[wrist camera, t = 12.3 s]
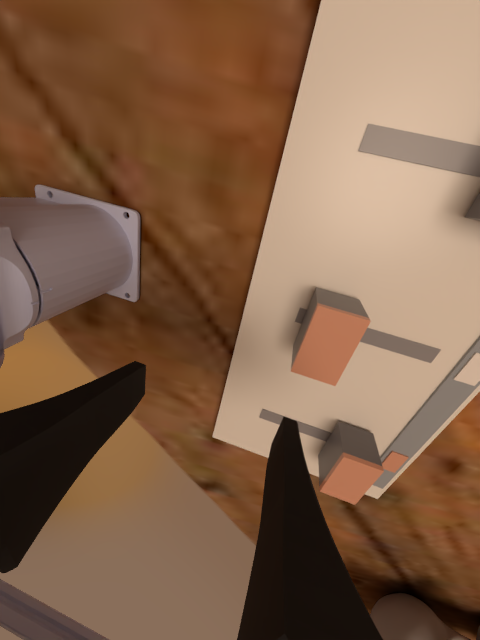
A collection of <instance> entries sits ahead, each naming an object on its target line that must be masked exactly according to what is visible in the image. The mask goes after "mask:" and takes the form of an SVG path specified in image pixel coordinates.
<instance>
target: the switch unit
mask: <svg viewBox="0 0 480 640" xmlns="http://www.w3.org/2000/svg"><path fill="white" fill-rule="evenodd" d="M479 192H480V0H321V4H320V8H319V12H318V16H317V20H316V24H315V28H314V32H313V36H312V40H311V44H310V48H309V52H308V56H307V60H306V64H305V68H304V72H303V76H302V80H301V84H300V88H299V92H298V96H297V100H296V104H295V108H294V112H293V116H292V120H291V124H290V128H289V132H288V136H287V140H286V144H285V148H284V152H283V156H282V160H281V164H280V168H279V172H278V176H277V180H276V184H275V188H274V192H273V196H272V200H271V204H270V208H269V212H268V216H267V220H266V224H265V228H264V232H263V236H262V240H261V244H260V248H259V252H258V256H257V260H256V264H255V268H254V272H253V276H252V280H251V284H250V288H249V292H248V296H247V301H246V305H245V309H244V313H243V317H242V321H241V325H240V329H239V333H238V337H237V341H236V345H235V349H234V353H233V357H232V361H231V365H230V369H229V373H228V377H227V381H226V385H225V389H224V393H223V397H222V401H221V405H220V409H219V413H218V417H217V421H216V425H215V429H214V433H213V437H214V438H217V439H219V440H222V441H225V442H227V443H230V444H233V445H235V446H238V447H241V448H243V449H246V450H249V451H251V452H254V453H257V454H259V455H262V456H265V457H267V458H269V453H270V449H271V444H272V442H273V439H274V437H275V435H276V432H277V430H278V428H279V426H280V423H281V421H282V419H283V417H287V418H290V419H292V420H295V421H297V423H298V428H299V434H300V439H301V444H302V448H303V452H304V456H305V460H306V464H307V467H308V471H309V473H310V474H312V475H315V476H318V477H319V465H318V454H319V453H320V451H321V449H322V448H323V446H324V445H325V443H326V441H327V440H328V438H329V436H330V435H331V433H332V432H333V430H334V428H335V427H336V425H337V423H338V422H342V423H345V424H348V425H350V426H353V427H356V428H359V429H362V430H365V431H368V432H371V433H373V434H374V438H375V441H376V445H377V448H378V452H379V455H380V459H381V462H382V466H383V469H384V472H383V473H382V474H381V476H380V477H379V478H378V479H377V480H376V481H375V482H374V484H373V485H372V486H371V487H370V488H369V489H368V490H367V492H366V493H365V494H366V495H368V496H371V497H374V498H376V499H378V498H379V497H380V496H381V495H382V494H383V493H384V492H385V491H386V490H387V488H388V487H389V486H390V485H391V484H392V483H393V482H394V481H395V480H396V479H397V478H398V477H399V476H400V475H401V474H402V473H403V472H404V471H405V469H406V468H407V467H408V466H409V465H410V464H411V463H412V462H413V461H414V460H415V459H416V458H417V457H418V456H419V455H420V454H421V453H422V452H423V450H424V449H425V448H426V447H427V446H428V445H429V444H430V443H431V442H432V441H433V440H434V439H435V438H436V437H437V436H438V435H439V434H440V433H441V431H442V430H443V429H444V428H445V427H446V426H447V425H448V424H449V423H450V422H451V421H452V420H453V419H454V418H455V417H456V416H457V415H458V414H459V412H460V411H461V410H462V409H463V408H464V407H465V406H466V405H467V404H468V403H469V402H470V401H471V400H472V399H473V398H474V397H475V396H476V395H477V393H478V392H479V391H480V221H478V220H474V219H469V218H465V217H464V216H465V215H466V213H467V211H468V210H469V208H470V206H471V205H472V203H473V202H474V200H475V198H476V197H477V195H478V193H479ZM316 287H317V288H321V289H324V290H328V291H331V292H335V293H338V294H342V295H345V296H349V297H352V298H356V299H359V300H360V302H361V303H362V305H363V307H364V309H365V311H366V313H367V315H368V317H369V318H370V320H371V322H370V324H369V326H368V327H367V329H366V331H365V333H364V335H363V337H362V338H361V340H360V342H359V344H358V346H357V348H356V349H355V351H354V353H353V355H352V357H351V359H350V360H349V362H348V364H347V366H346V368H345V370H344V371H343V373H342V375H341V377H340V379H339V381H338V382H337V384H336V386H333V385H330V384H327V383H324V382H321V381H318V380H315V379H312V378H309V377H306V376H303V375H300V374H297V373H294V372H291V363H292V353H293V344H294V342H295V339H296V337H297V334H298V332H299V329H300V326H301V324H302V321H303V319H304V316H305V314H306V311H307V308H308V306H309V303H310V301H311V298H312V296H313V293H314V291H315V288H316Z"/></svg>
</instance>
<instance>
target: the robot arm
mask: <svg viewBox="0 0 480 640" xmlns="http://www.w3.org/2000/svg"><path fill="white" fill-rule="evenodd" d="M35 194H36V198H19V197H0V367H1V365H2V364H3V360H4V349H6V348H8V347H10V346H12V345H14V344H16V343H18V342H20V341H22V340H23V339H24V337H23V336H24V332H25V331H26V330H27V329H28V328H30V327H32V326H35V325H37V324H39V323H41V322H43V321H46V320H48V319H50V318H52V317H54V316H56V315H59V314H61V313H63V312H65V311H67V310H70V309H72V308H74V307H76V306H78V305H80V304H83V303H85V302H87V301H89V300H91V299H94V298H96V297H98V296H100V295H102V294H104V293H107V294H110V295H113V296H116V297H119V298H122V299H126V300H129V301H132V302H136V301H137V300H138V299H139V281H140V215H139V213H138V212H137V211H136V210H133V209H129V208H126V207H122V206H118V205H115V204H111V203H107V202H104V201H100V200H96V199H92V198H89V197H85V196H81V195H78V194H74V193H70V192H67V191H63V190H59V189H56V188H52V187H48V186H45V185H36V186H35ZM52 194H53V196H52ZM127 212H128V214H129V218H128V217H127ZM127 293H128V294H129V295H130V296H128V294H127ZM145 374H146V365H144V364H142V363H139V362H136V361H134V362H132V363H130V364H128V365H126V366H124V367H122V368H119V369H117V370H115V371H113V372H111V373H109V374H107V375H105V376H103V377H100V378H98V379H96V380H94V381H92V382H89V383H87V384H85V385H82V386H80V387H77V388H75V389H73V390H70V391H68V392H65V393H63V394H60V395H57V396H55V397H52V398H49V399H46V400H43V401H40V402H37V403H34V404H31V405H27V406H24V407H20V408H17V409H14V410H10V411H7V412H4V413H0V572H1V573H6V572H8V571H10V570H13V569H14V568H16V567H18V565H19V563H20V562H21V560H22V558H23V557H24V555H25V554H26V552H27V551H28V549H29V547H30V546H31V544H32V543H33V541H34V540H35V538H36V537H37V535H38V534H39V532H40V531H41V529H42V527H43V526H44V524H45V523H46V522H47V520H48V519H49V517H50V516H51V514H52V513H53V511H54V510H55V508H56V507H57V505H58V504H59V502H60V501H61V500H62V498H63V497H64V495H65V494H66V493H67V491H68V490H69V488H70V487H71V486H72V484H73V483H74V481H75V480H76V479H77V477H78V476H79V474H80V473H81V472H82V471H83V469H84V468H85V467H86V465H87V464H88V462H89V461H90V460H91V459H92V457H93V456H94V455H95V454H96V453H97V451H98V450H99V449H100V448H101V447H102V446H103V445H104V443H105V442H106V441H107V440H108V439H109V438H110V437H111V436H112V434H113V433H114V432H115V431H116V430H117V429H118V428H119V427H120V425H121V424H122V423H123V422H124V421H125V420H126V419H127V417H128V416H129V415H130V414H131V413H132V412H133V410H134V409H135V408H136V406H137V405H138V403H139V402H140V400H141V399H142V397H143V396H144V394H145ZM0 626H1V627H3V628H5V629H6V630H8V631H10V632H12V633H13V634H15V635H16V636H18V637H20V638H21V639H24V640H109V639H107V638H106V637H104V636H102V635H100V634H98V633H96V632H95V631H93V630H91V629H89V628H88V627H86V626H84V625H82V624H80V623H78V622H77V621H75V620H73V619H71V618H69V617H68V616H66V615H64V614H62V613H60V612H58V611H57V610H55V609H53V608H51V607H50V606H47V605H46V604H44V603H42V602H41V601H39V600H37V599H35V598H33V597H32V596H30V595H28V594H26V593H24V592H22V591H21V590H19V589H17V588H15V587H14V586H12V585H10V584H8V583H6V582H5V581H3V580H1V579H0ZM237 640H383V639H382V637H381V635H380V633H379V631H378V630H377V628H376V626H375V624H374V622H373V620H372V618H371V617H370V615H369V613H368V611H367V609H366V607H365V605H364V603H363V601H362V599H361V597H360V595H359V593H358V591H357V589H356V588H355V586H354V584H353V582H352V579H351V577H350V575H349V573H348V571H347V569H346V567H345V564H344V562H343V560H342V558H341V556H340V554H339V552H338V549H337V547H336V545H335V543H334V540H333V538H332V536H331V533H330V531H329V529H328V526H327V524H326V521H325V518H324V516H323V513H322V511H321V508H320V505H319V502H318V500H317V497H316V494H315V491H314V488H313V484H312V481H311V478H310V475H309V471H308V467H307V464H306V460H305V456H304V452H303V448H302V444H301V439H300V434H299V428H298V423H297V421H295V420H292V419H290V418H287V417H283V419H282V421H281V423H280V426H279V428H278V430H277V432H276V435H275V437H274V439H273V442H272V444H271V449H270V453H269V458H268V463H267V469H266V477H265V486H264V495H263V504H262V513H261V522H260V529H259V535H258V540H257V545H256V551H255V556H254V561H253V566H252V571H251V576H250V581H249V586H248V591H247V596H246V600H245V605H244V610H243V615H242V619H241V624H240V629H239V633H238V638H237Z"/></svg>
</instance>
